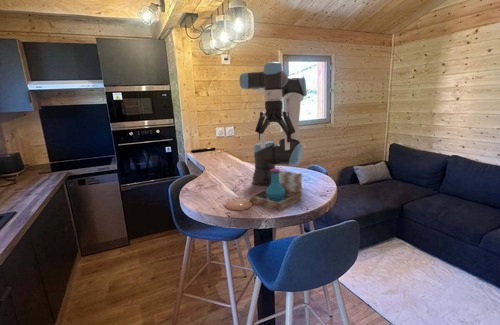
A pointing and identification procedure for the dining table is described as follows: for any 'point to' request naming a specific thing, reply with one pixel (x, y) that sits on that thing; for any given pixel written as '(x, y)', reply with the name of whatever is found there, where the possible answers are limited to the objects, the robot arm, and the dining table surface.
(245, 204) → the saucer
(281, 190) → the perfume bottle
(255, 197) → the frame
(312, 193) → the dining table surface
